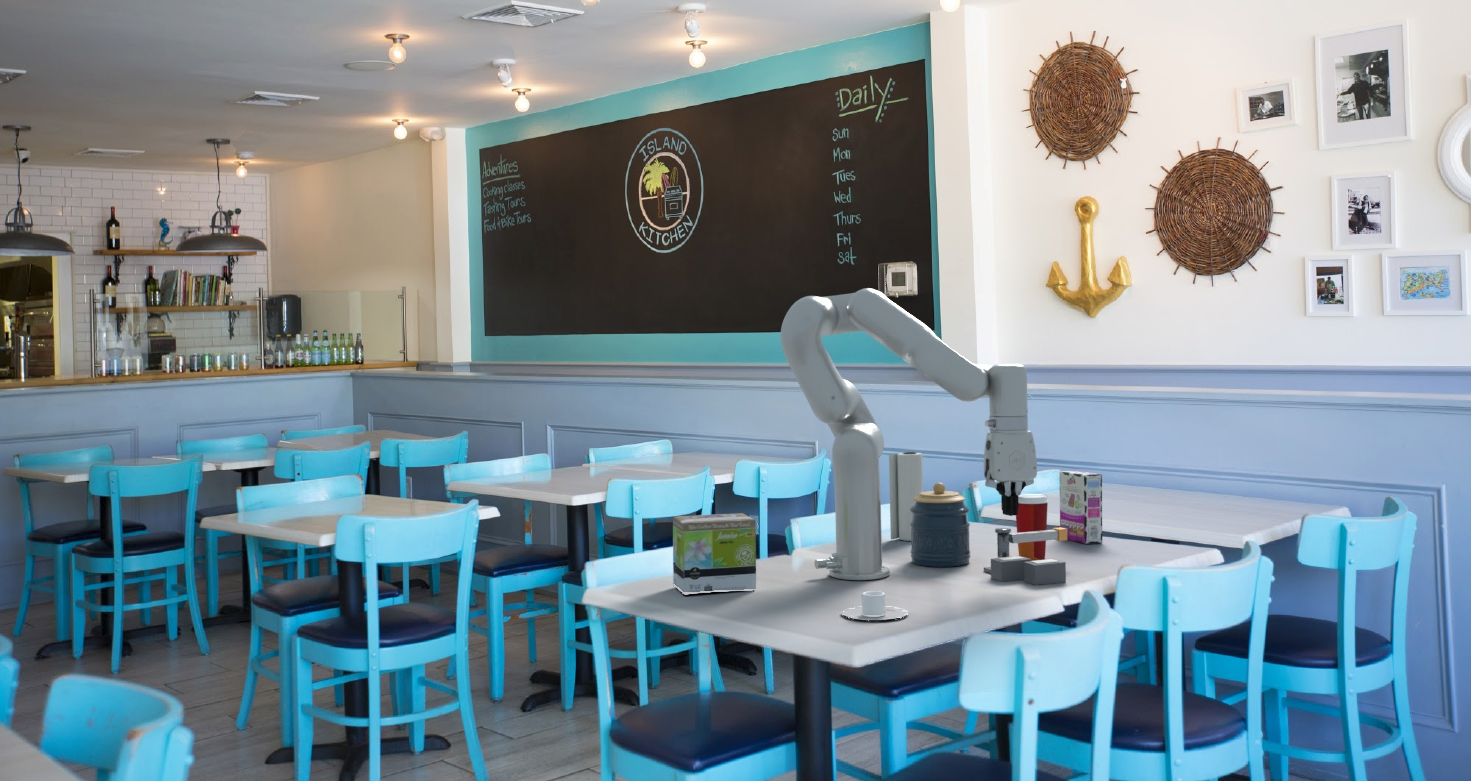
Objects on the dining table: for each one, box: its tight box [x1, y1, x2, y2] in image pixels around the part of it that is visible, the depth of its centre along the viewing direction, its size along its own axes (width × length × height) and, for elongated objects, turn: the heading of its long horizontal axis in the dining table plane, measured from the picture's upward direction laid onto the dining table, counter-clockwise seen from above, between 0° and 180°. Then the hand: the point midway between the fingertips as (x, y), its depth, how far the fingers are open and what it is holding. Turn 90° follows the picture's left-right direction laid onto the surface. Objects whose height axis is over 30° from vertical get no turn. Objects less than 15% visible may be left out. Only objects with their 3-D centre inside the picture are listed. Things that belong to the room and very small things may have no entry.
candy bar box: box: [1058, 470, 1103, 545], centre depth 286 cm, size 11×5×16 cm, turn 17°
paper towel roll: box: [888, 451, 924, 542], centre depth 293 cm, size 7×6×21 cm
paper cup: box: [1015, 493, 1050, 561], centre depth 265 cm, size 8×8×14 cm
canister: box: [910, 482, 971, 568], centre depth 263 cm, size 13×13×18 cm
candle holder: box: [841, 590, 909, 622], centre depth 215 cm, size 12×12×4 cm
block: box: [990, 555, 1031, 583], centre depth 243 cm, size 7×4×4 cm, turn 109°
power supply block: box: [1023, 558, 1067, 586], centre depth 239 cm, size 7×4×4 cm, turn 109°
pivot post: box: [983, 527, 1012, 574], centre depth 250 cm, size 6×6×9 cm
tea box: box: [672, 512, 757, 592], centre depth 240 cm, size 15×10×15 cm, turn 105°
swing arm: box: [1009, 526, 1068, 544], centre depth 252 cm, size 13×2×2 cm, turn 109°
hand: (1010, 514), depth 243 cm, fingers closed
